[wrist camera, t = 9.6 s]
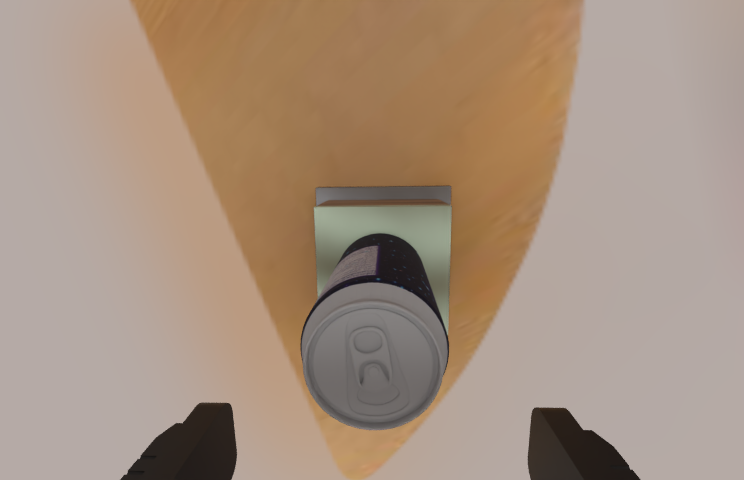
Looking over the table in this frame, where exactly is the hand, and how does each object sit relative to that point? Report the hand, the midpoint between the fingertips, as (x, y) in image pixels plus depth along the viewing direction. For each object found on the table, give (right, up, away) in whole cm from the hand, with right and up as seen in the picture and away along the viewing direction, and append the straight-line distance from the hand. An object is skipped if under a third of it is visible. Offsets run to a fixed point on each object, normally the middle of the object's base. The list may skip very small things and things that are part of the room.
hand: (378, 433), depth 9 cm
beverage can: (0, +3, +15) cm, 15 cm away
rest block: (+1, +4, +22) cm, 22 cm away
